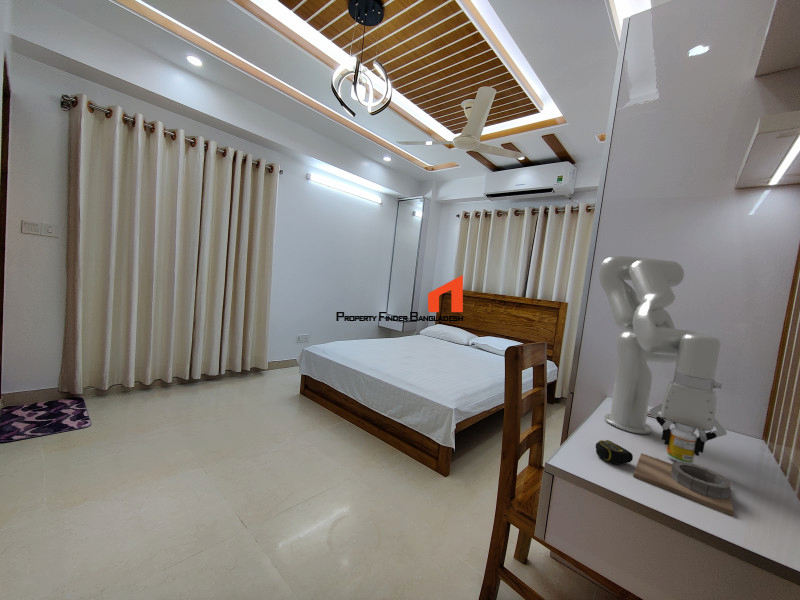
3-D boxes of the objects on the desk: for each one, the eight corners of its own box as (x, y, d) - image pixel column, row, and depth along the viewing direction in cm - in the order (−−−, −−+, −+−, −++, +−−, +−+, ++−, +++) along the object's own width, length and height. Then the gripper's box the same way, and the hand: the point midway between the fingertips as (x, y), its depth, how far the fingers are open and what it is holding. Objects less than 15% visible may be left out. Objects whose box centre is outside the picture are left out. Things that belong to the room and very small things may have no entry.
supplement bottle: (668, 450, 87) (675, 417, 86) (695, 461, 83) (701, 425, 82) (663, 456, 84) (669, 421, 83) (690, 467, 80) (697, 430, 79)
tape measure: (633, 466, 78) (635, 451, 78) (613, 468, 76) (615, 453, 76) (607, 451, 85) (609, 438, 85) (588, 453, 83) (590, 439, 83)
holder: (640, 456, 84) (642, 443, 83) (727, 487, 73) (729, 473, 73) (633, 476, 73) (635, 462, 73) (732, 516, 62) (735, 499, 62)
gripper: (739, 389, 79) (726, 458, 80) (652, 370, 90) (642, 431, 92) (742, 395, 73) (728, 470, 75) (649, 374, 85) (638, 439, 86)
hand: (681, 447), depth 83 cm, fingers closed on supplement bottle, 5 cm apart
